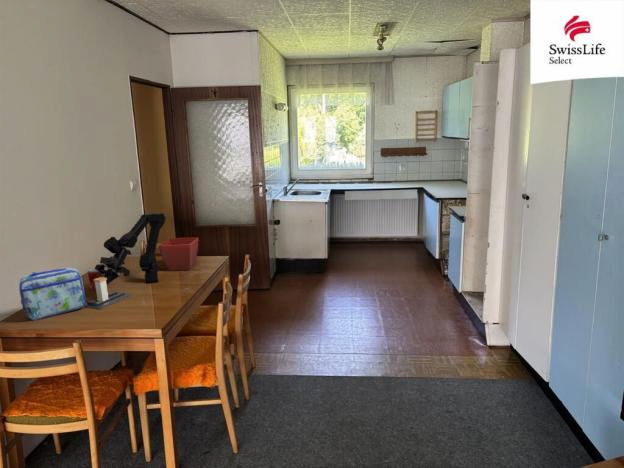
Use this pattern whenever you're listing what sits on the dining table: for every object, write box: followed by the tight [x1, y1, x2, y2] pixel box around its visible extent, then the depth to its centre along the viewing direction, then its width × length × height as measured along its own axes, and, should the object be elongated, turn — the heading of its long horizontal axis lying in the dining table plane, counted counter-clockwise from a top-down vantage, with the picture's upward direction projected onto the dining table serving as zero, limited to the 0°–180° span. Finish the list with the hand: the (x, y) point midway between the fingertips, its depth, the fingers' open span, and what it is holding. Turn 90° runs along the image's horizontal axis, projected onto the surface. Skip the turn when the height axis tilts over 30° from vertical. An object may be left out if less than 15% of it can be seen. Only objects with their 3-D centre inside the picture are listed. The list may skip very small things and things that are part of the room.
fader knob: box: [94, 277, 109, 301], centre depth 230 cm, size 4×4×11 cm
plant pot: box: [158, 237, 199, 272], centre depth 285 cm, size 19×19×17 cm
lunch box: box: [18, 267, 87, 321], centre depth 219 cm, size 26×11×21 cm, turn 123°
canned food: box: [87, 267, 104, 292], centre depth 253 cm, size 8×8×11 cm
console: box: [83, 290, 133, 310], centre depth 234 cm, size 20×12×3 cm, turn 156°
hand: (104, 285), depth 232 cm, fingers closed, pressing on fader knob
